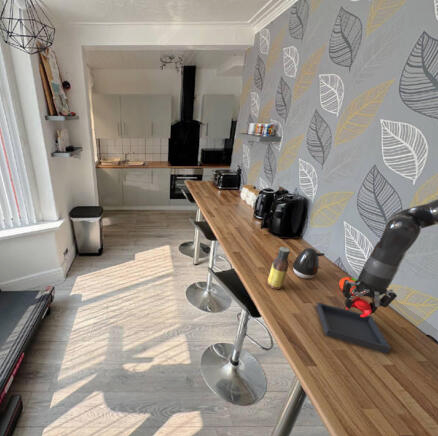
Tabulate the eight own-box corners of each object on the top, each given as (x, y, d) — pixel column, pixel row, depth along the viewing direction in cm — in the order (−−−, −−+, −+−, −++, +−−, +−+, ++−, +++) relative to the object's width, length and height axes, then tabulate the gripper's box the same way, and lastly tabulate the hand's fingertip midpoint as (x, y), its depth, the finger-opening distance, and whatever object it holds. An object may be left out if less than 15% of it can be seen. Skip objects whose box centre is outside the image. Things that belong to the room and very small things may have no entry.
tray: (368, 321, 91) (371, 316, 90) (387, 353, 78) (391, 348, 77) (316, 307, 97) (318, 302, 96) (325, 335, 84) (328, 330, 83)
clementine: (351, 287, 109) (357, 274, 106) (362, 297, 103) (369, 284, 100) (333, 285, 110) (338, 273, 107) (343, 295, 104) (349, 283, 101)
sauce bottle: (273, 280, 112) (285, 244, 104) (284, 288, 107) (297, 251, 99) (263, 283, 110) (274, 246, 102) (274, 291, 104) (286, 253, 96)
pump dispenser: (315, 284, 110) (326, 257, 104) (290, 276, 115) (299, 250, 109) (314, 273, 118) (324, 247, 112) (291, 266, 123) (299, 241, 117)
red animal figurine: (342, 302, 89) (348, 289, 86) (361, 307, 87) (368, 295, 84) (348, 317, 82) (355, 304, 80) (370, 323, 80) (378, 310, 77)
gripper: (356, 271, 76) (337, 310, 83) (414, 283, 71) (388, 324, 78) (348, 259, 82) (331, 297, 89) (400, 270, 78) (378, 308, 84)
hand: (358, 309), depth 84 cm, fingers closed on red animal figurine, 5 cm apart
